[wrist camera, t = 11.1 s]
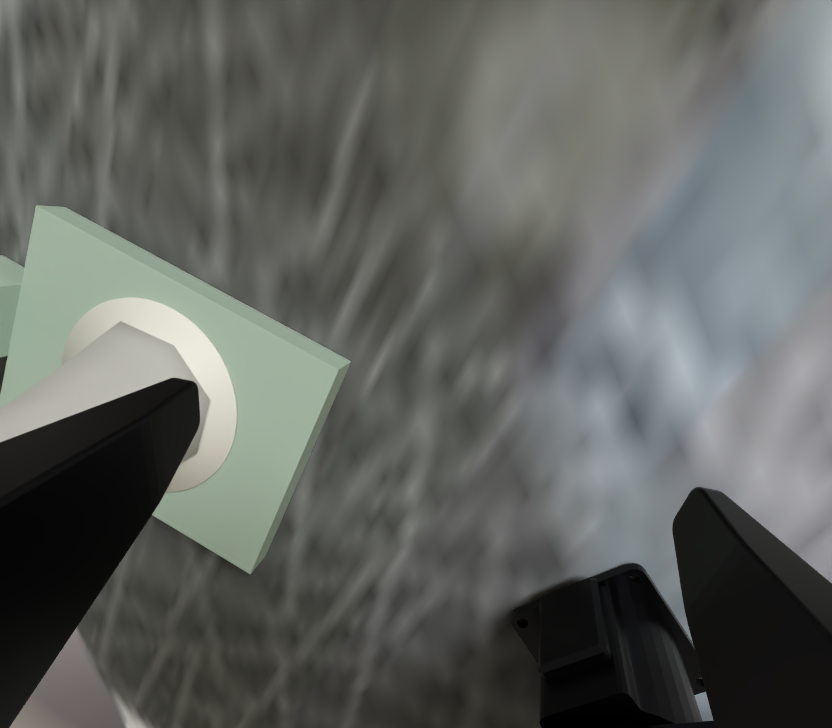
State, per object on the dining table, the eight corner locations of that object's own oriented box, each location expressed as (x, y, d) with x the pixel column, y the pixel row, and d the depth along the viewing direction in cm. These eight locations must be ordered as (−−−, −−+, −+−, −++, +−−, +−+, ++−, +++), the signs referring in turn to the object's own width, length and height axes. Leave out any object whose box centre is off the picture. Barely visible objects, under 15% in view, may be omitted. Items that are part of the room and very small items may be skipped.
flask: (166, 498, 25) (-57, 653, 16) (58, 403, 26) (-225, 500, 16) (238, 396, 23) (25, 508, 14) (118, 292, 23) (-172, 330, 14)
